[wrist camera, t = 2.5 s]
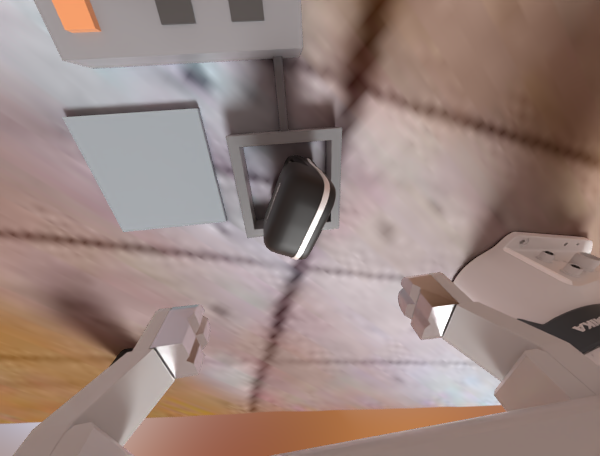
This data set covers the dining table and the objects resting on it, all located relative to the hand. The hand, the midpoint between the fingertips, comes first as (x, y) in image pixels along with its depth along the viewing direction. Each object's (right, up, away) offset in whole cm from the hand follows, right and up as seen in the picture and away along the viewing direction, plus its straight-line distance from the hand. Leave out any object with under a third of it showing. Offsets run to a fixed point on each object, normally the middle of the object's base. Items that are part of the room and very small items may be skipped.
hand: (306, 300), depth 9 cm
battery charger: (-2, +8, +16) cm, 18 cm away
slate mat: (-16, +9, +14) cm, 23 cm away
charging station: (-7, +13, +13) cm, 20 cm away
